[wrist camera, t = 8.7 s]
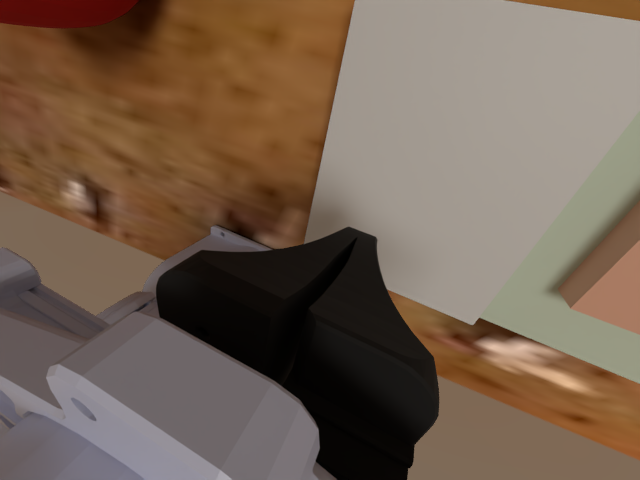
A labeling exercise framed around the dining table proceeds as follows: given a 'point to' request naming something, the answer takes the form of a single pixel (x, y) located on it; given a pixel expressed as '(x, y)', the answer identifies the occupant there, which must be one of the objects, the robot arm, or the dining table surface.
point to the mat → (565, 256)
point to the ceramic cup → (62, 12)
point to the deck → (468, 136)
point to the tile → (610, 277)
